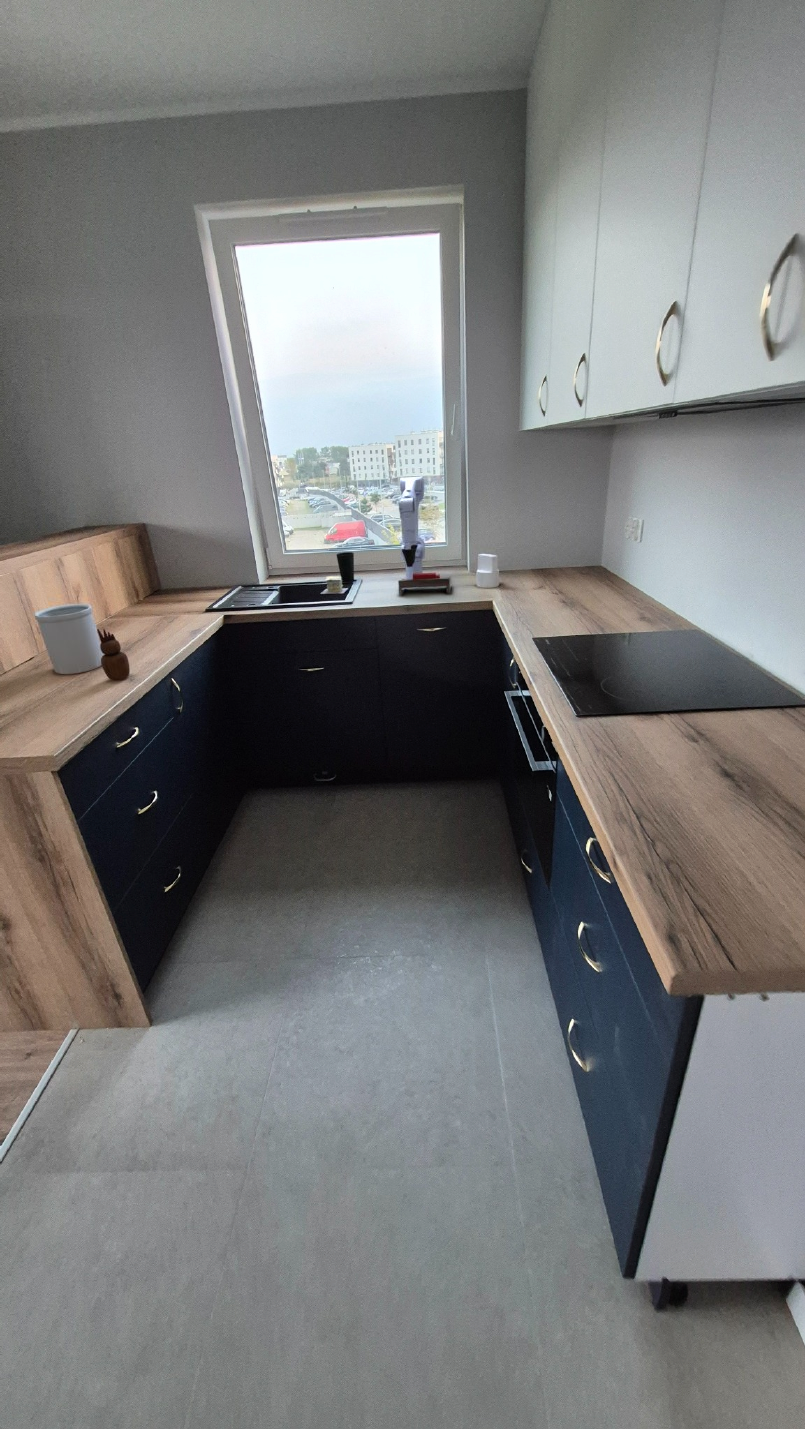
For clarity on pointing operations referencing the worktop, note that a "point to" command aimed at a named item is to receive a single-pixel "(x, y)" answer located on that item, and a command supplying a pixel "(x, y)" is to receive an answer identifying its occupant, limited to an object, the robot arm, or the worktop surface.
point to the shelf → (424, 583)
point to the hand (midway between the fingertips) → (410, 565)
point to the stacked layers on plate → (334, 586)
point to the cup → (346, 566)
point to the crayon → (425, 576)
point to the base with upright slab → (487, 571)
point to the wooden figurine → (113, 658)
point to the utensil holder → (70, 638)
